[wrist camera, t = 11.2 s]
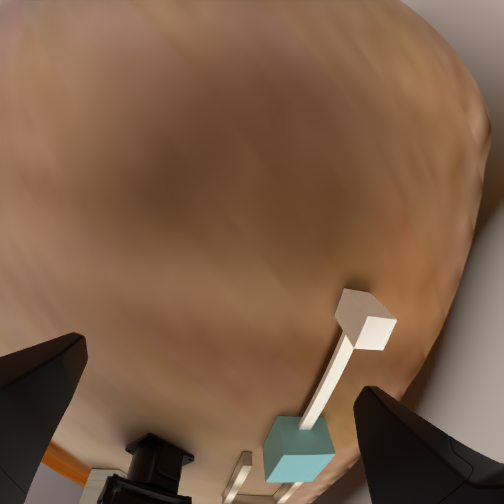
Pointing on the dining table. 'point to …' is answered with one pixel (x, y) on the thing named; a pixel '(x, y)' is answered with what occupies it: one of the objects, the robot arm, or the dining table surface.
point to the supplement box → (97, 484)
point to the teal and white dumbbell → (325, 394)
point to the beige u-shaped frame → (231, 500)
